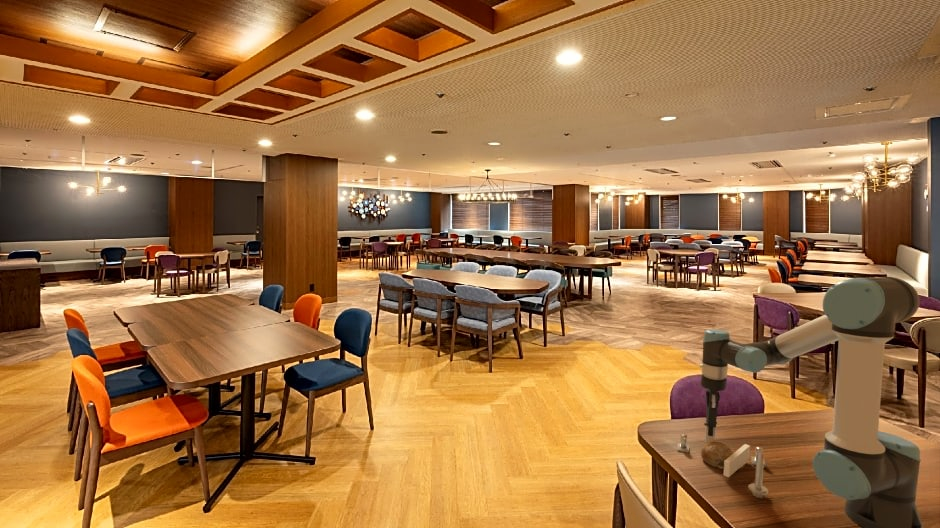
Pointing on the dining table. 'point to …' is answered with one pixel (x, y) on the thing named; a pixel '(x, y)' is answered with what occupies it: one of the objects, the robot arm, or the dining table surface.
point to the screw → (758, 479)
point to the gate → (736, 460)
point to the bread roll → (716, 454)
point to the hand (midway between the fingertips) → (709, 443)
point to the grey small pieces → (685, 448)
